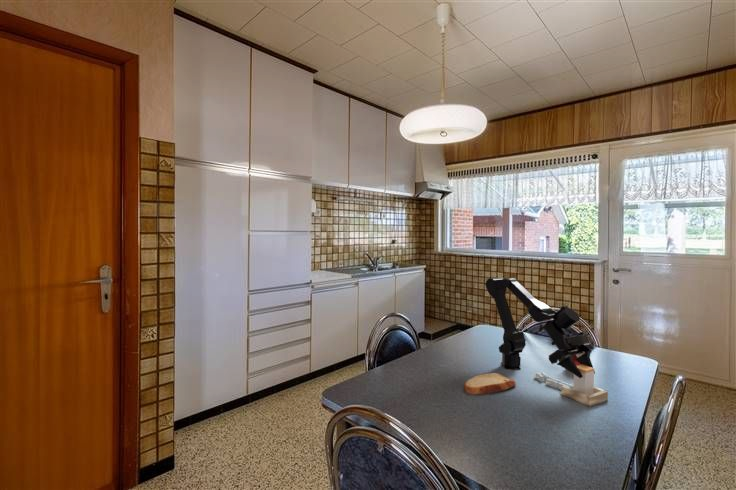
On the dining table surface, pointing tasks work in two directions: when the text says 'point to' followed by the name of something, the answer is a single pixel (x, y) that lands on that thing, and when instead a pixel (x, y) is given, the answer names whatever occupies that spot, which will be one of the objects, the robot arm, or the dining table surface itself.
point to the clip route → (552, 381)
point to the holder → (585, 396)
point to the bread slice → (488, 383)
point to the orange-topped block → (584, 380)
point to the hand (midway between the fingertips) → (587, 375)
